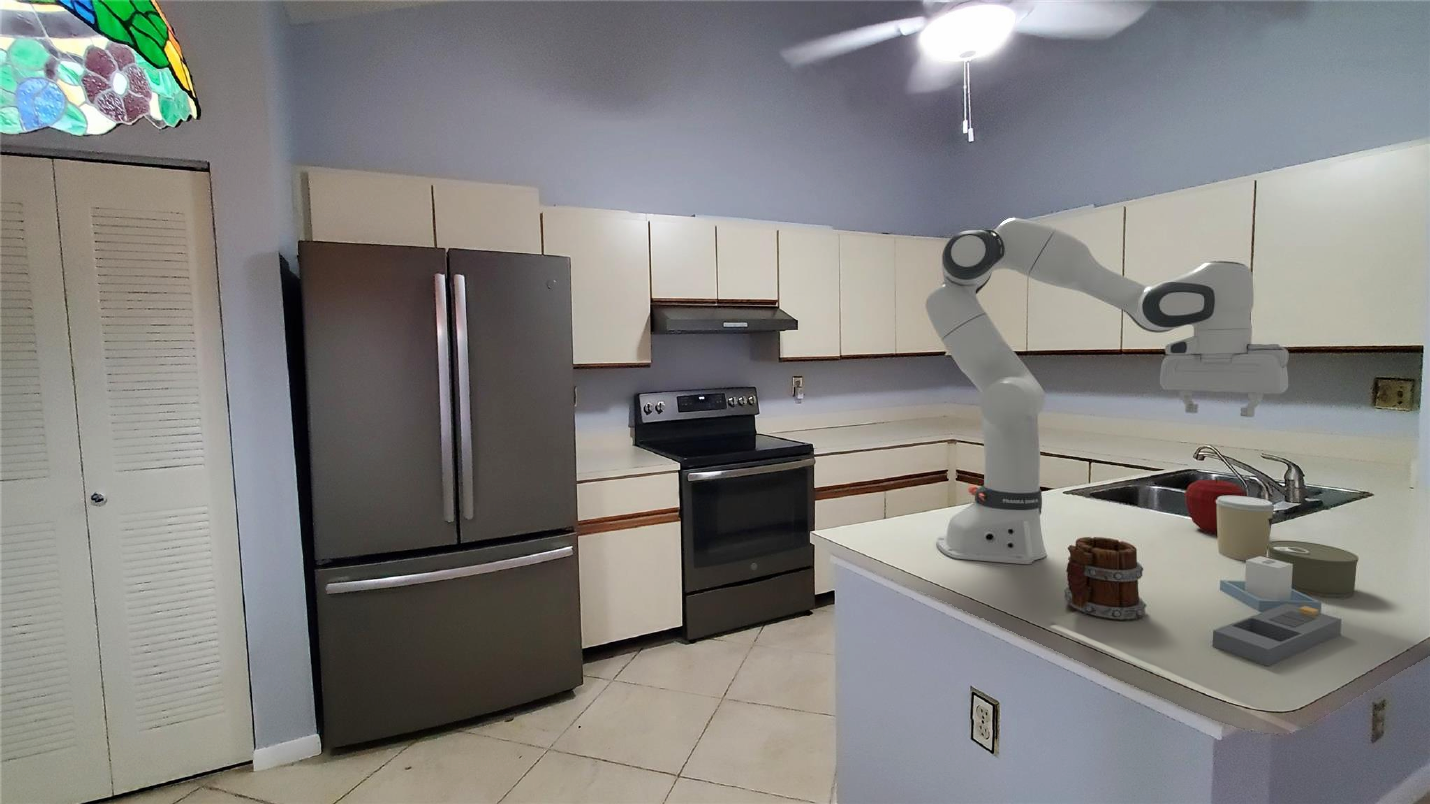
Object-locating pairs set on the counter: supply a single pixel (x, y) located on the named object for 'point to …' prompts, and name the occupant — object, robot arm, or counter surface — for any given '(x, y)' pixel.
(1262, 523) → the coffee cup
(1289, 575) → the charger
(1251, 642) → the grey compartment box
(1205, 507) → the apple
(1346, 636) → the counter surface
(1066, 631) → the counter surface
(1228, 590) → the tray
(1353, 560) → the can
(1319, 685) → the counter surface
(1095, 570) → the mug
